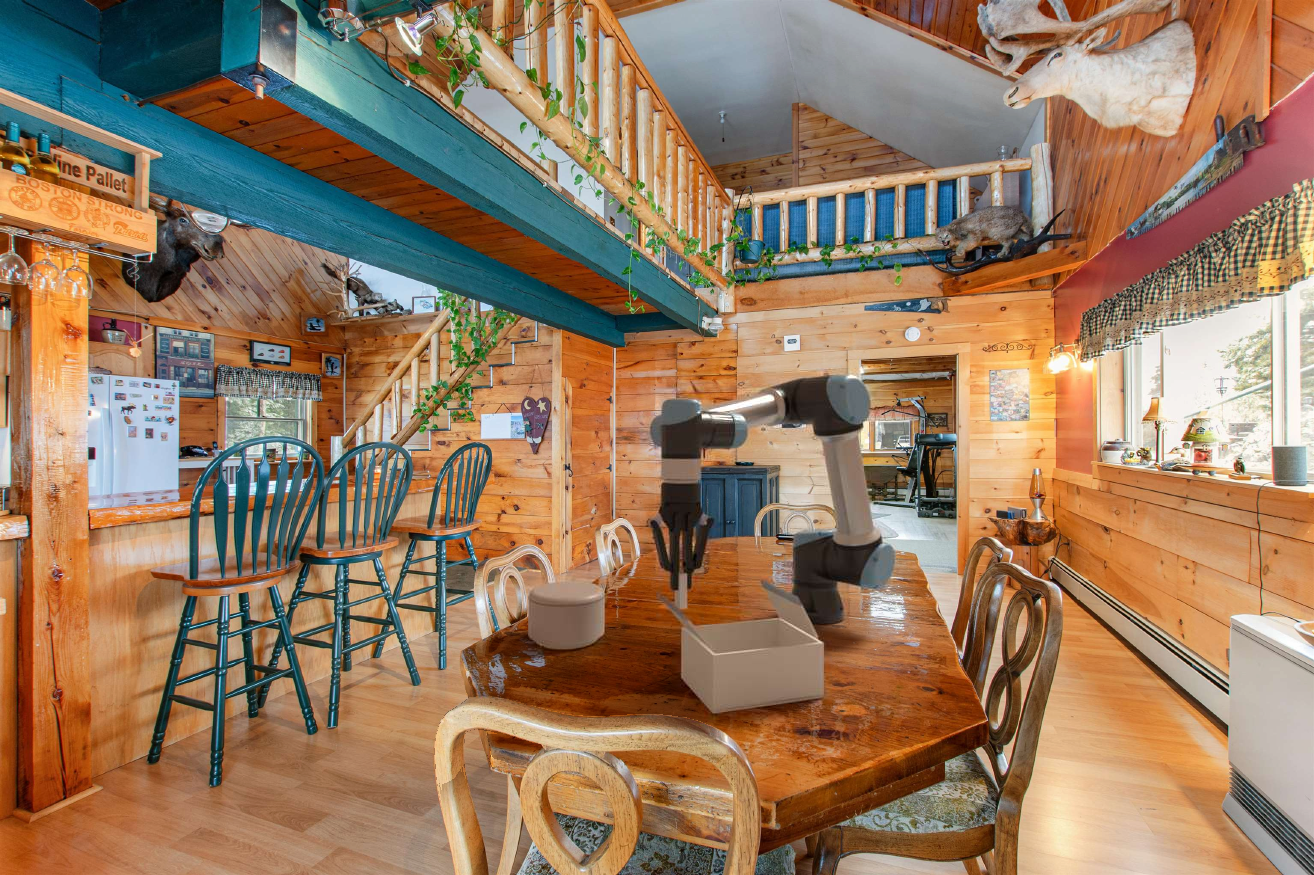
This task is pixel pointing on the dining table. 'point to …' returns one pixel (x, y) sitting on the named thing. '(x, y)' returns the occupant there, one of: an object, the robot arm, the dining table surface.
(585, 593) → the container
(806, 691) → the carton
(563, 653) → the dining table surface
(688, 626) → the flap
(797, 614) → the flap
